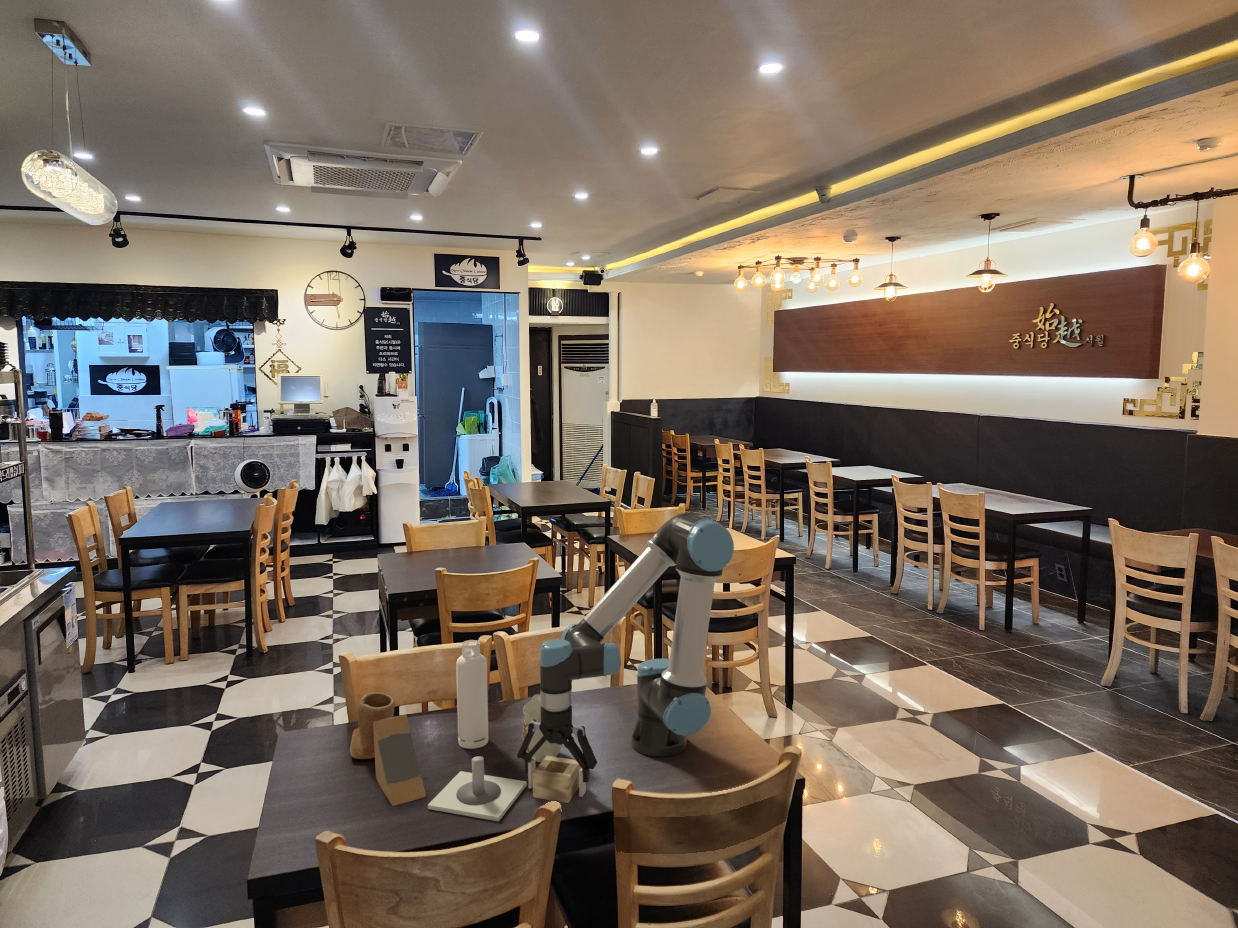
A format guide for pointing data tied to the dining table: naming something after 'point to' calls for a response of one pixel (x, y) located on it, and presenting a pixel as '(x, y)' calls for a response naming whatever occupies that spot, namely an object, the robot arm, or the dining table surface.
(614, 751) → the dining table surface
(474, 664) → the bottle
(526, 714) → the pitcher
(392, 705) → the tan boot
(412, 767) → the sandwich container
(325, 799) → the dining table surface
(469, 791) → the post stand
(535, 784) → the collar
